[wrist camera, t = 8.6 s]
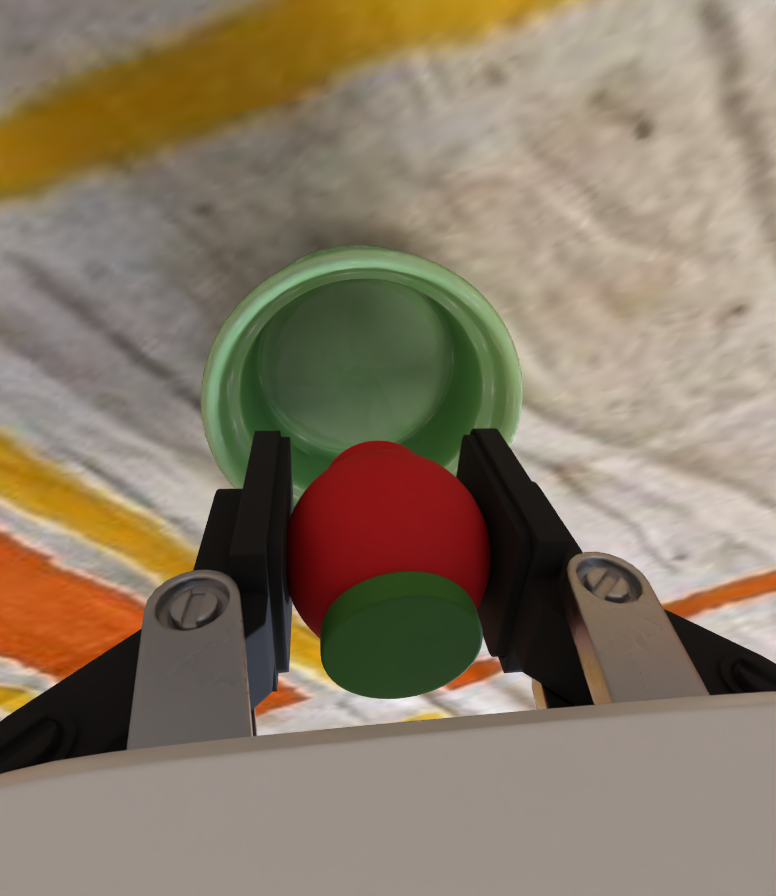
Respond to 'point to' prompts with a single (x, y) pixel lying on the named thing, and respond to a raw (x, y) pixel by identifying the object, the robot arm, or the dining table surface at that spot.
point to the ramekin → (358, 363)
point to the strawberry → (389, 571)
